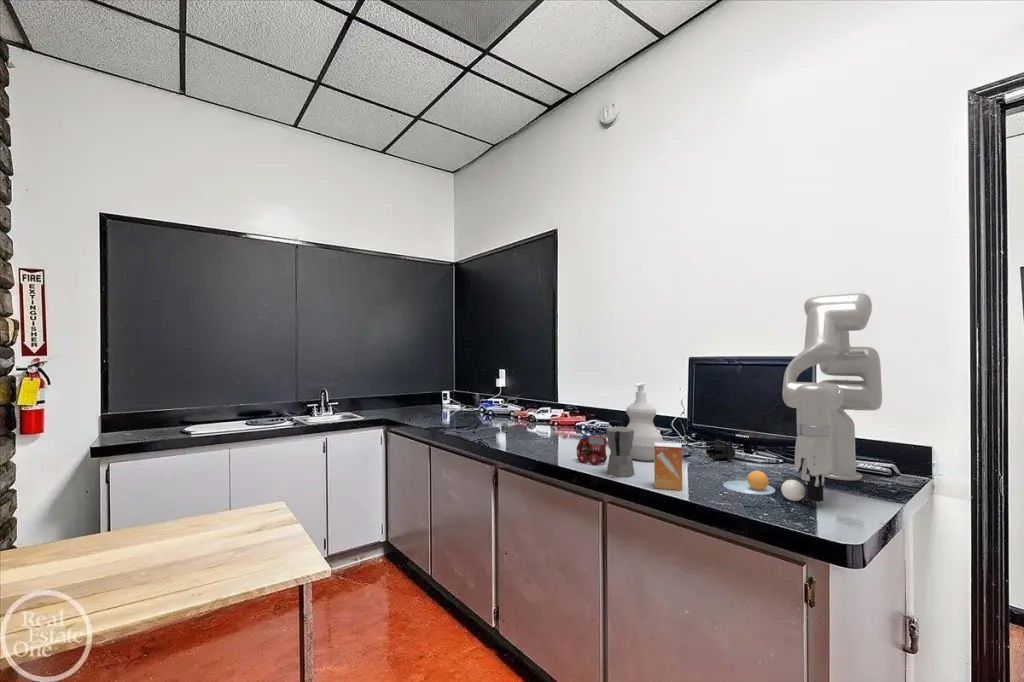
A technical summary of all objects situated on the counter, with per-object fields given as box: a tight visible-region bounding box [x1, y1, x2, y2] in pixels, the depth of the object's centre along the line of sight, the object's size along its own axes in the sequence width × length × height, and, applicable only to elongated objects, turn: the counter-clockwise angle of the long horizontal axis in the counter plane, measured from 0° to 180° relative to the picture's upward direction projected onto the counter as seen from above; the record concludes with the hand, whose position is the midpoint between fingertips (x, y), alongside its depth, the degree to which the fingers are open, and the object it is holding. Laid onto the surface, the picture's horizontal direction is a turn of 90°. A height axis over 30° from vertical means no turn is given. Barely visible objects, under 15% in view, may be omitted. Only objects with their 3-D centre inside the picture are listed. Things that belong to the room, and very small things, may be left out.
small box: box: [653, 442, 683, 491], centre depth 139 cm, size 8×6×13 cm
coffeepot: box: [605, 420, 635, 478], centre depth 154 cm, size 15×9×18 cm, turn 160°
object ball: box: [746, 470, 770, 490], centre depth 135 cm, size 6×6×6 cm
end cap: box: [705, 439, 736, 462], centre depth 174 cm, size 10×7×7 cm
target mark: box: [722, 479, 776, 496], centre depth 137 cm, size 14×14×1 cm
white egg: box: [780, 479, 806, 502], centre depth 125 cm, size 6×6×6 cm
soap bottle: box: [625, 382, 664, 462], centre depth 176 cm, size 17×12×29 cm
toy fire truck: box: [576, 433, 608, 466], centre depth 171 cm, size 7×12×10 cm, turn 49°
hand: (815, 500), depth 121 cm, fingers closed
